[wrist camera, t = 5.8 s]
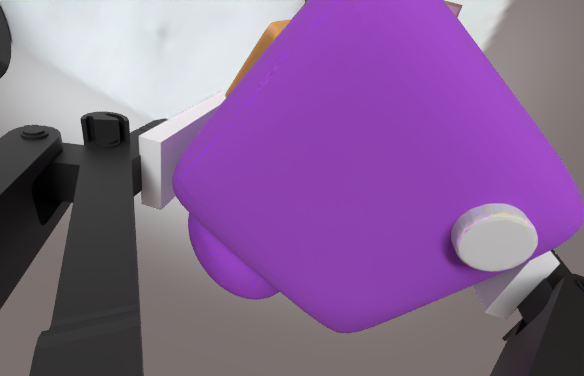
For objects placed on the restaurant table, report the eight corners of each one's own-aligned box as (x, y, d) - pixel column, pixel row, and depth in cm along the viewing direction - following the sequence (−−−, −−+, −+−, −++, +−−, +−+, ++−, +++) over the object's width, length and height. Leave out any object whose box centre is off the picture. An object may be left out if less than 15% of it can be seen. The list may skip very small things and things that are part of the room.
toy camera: (206, 169, 20) (90, 285, 12) (333, -58, 13) (274, -187, 5) (340, 256, 21) (323, 418, 13) (519, 93, 14) (740, 210, 6)
